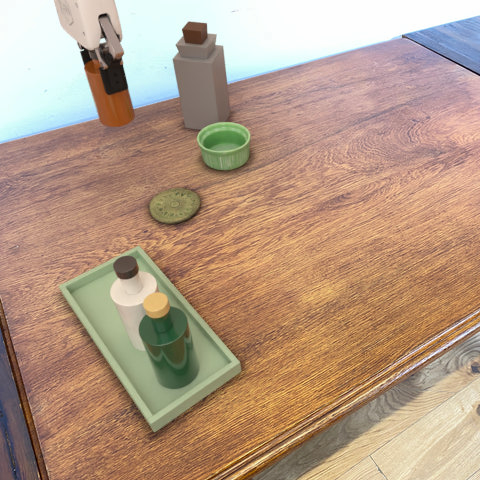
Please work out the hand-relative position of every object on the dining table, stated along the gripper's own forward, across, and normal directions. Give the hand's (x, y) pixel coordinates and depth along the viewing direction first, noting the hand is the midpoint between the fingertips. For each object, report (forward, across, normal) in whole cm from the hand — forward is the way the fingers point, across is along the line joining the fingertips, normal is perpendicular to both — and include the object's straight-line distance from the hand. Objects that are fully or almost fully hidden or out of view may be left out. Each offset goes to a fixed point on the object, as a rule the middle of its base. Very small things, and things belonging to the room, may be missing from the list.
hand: (107, 81), depth 74 cm
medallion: (+16, +12, +1) cm, 21 cm away
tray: (+16, +30, -13) cm, 37 cm away
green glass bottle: (+16, +38, -13) cm, 43 cm away
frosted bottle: (+16, +31, -13) cm, 38 cm away
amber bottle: (+6, 0, 0) cm, 6 cm away
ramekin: (+16, +6, +15) cm, 23 cm away
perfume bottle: (+17, -6, +19) cm, 26 cm away
